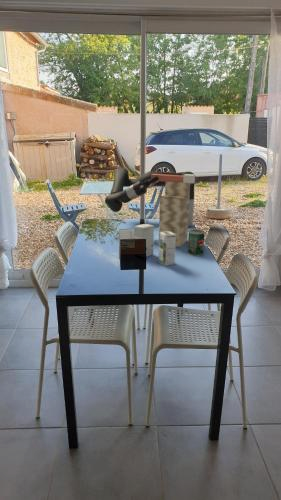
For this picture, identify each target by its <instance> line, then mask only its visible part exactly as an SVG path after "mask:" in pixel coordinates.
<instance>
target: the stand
mask: <svg viewBox="0 0 281 500" xmlns="http://www.w3.org/2000/svg"><path fill="white" fill-rule="evenodd" d="M189 198H190V183H180V182H165V188H164V195H160V196H159V216H158V217H159V221H158V222H159V225H158V226H159V227H158V244H159V243H160V232H165V231H171V232H172V233H174V234H176V243H175V248H181V247H183V245H185V244H186V243H187V242H188V236H189V227H188V218H189Z"/></svg>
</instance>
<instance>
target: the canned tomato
mask: <svg viewBox="0 0 281 500" xmlns="http://www.w3.org/2000/svg"><path fill="white" fill-rule="evenodd" d="M205 233H206V232H205V230H203V229H188V238H187V254H188V255H190V256H202V255H204V250H205V235H206V234H205Z"/></svg>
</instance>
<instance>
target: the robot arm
mask: <svg viewBox="0 0 281 500" xmlns="http://www.w3.org/2000/svg"><path fill="white" fill-rule="evenodd" d="M129 173H130V172H129V170H128V169H127V168H125V167H118V168H116V169H115V170H114V172H113V175H114V176H113V181H112V182H113V183H112V187H111V190H110V193H109V194H108V195H107V196H106V197H105V198H104V203H105V205H106V206H107V207H108V208H109V209H110V210H111V211H112V212H113V213H118V212H120V211H121V210H122V208H123V205H124V204H128V203H130V202H131V201H133V200H135V199H136V200H137V198H140V197H142V196H143V195H145V194H146V193H147V192H148V189H149V188H152V187H156V188H157V187H158V188H159V187H164V186H165V182H164V181H158V180H159V178H158V177H157V176H156V177H154V178H152V179H151V174H164V175H181V176H184V175H185V174H193V175H195V173H194V172H192V171H181V172H168V171H155V170H154V171H152V170H151V171H147V172H146V173H144V174H142V175H141V176H139V177H137V178H130V174H129ZM196 180H197V177H196V176H195V182H196ZM124 188H125V189H124ZM194 209H195V183H190V198H189V218H188V228H190V227H189V226H191V227H193V226H194V214H195V213H194Z"/></svg>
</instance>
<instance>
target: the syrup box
mask: <svg viewBox="0 0 281 500" xmlns="http://www.w3.org/2000/svg"><path fill="white" fill-rule="evenodd" d="M175 243H176V234H174V233H172V232H171V231H165V232H160V243H159V242H158V245H159V246H158V247H159V249H158V250H159V251H158V263H160V265H162V266H163V267H165V266H172V265H175V257H176V246H175Z"/></svg>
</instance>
